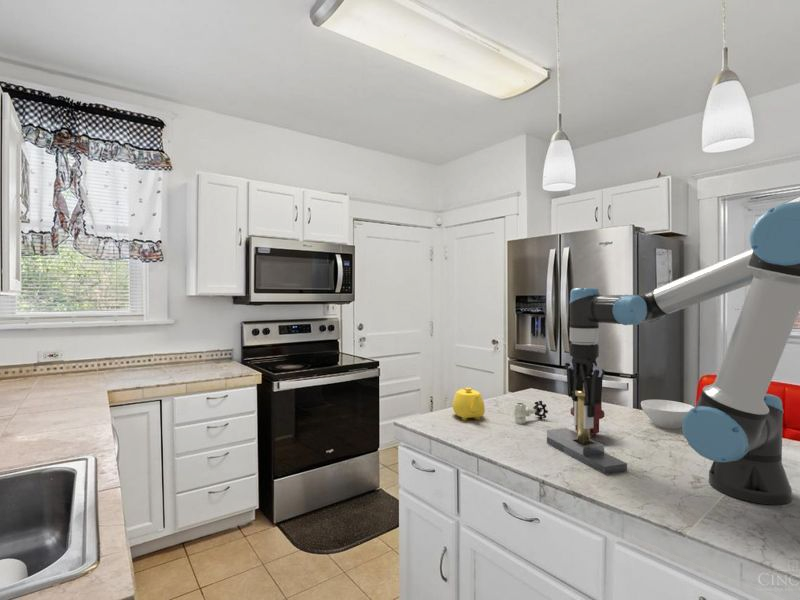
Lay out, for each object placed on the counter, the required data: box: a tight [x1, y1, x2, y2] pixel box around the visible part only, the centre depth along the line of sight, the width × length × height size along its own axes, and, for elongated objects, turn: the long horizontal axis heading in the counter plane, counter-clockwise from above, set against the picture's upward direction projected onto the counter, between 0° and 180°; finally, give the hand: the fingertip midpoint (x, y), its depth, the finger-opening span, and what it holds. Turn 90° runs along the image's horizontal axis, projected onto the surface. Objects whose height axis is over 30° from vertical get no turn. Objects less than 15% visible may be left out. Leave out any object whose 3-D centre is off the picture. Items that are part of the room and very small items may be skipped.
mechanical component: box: [570, 400, 605, 439], centre depth 141 cm, size 12×10×10 cm
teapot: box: [452, 387, 486, 421], centre depth 162 cm, size 18×11×11 cm, turn 13°
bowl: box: [640, 399, 695, 430], centre depth 151 cm, size 16×16×7 cm
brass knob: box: [575, 388, 590, 443], centre depth 124 cm, size 5×5×14 cm
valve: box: [513, 400, 549, 425], centre depth 157 cm, size 7×7×12 cm
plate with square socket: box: [546, 427, 628, 475], centre depth 124 cm, size 24×7×4 cm, turn 17°
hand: (583, 425), depth 124 cm, fingers closed on brass knob, 3 cm apart
